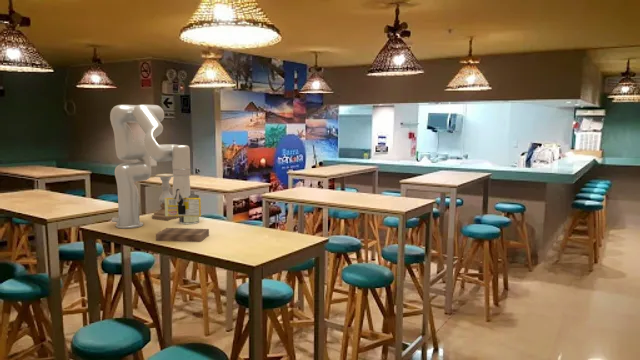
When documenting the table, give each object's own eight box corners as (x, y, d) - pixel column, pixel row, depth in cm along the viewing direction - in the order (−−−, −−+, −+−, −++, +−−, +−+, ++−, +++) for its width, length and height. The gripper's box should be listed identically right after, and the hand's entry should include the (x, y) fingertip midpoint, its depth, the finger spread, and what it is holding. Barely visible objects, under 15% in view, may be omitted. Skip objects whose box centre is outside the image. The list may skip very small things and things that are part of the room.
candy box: (201, 215, 207) (201, 197, 206) (200, 216, 205) (199, 198, 204) (166, 215, 208) (165, 197, 207) (164, 216, 206) (163, 198, 205)
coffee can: (175, 223, 238) (174, 196, 236) (186, 219, 247) (186, 193, 246) (192, 225, 235) (191, 197, 233) (203, 221, 244) (202, 194, 243)
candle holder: (166, 215, 258) (165, 173, 255) (181, 217, 253) (180, 174, 251) (151, 218, 248) (150, 174, 246) (166, 220, 244) (165, 176, 241)
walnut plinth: (155, 240, 202) (155, 233, 202) (166, 234, 214) (166, 227, 214) (200, 241, 201) (200, 235, 201) (208, 235, 213) (208, 229, 213)
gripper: (180, 171, 212) (181, 210, 214) (166, 174, 196) (167, 217, 198) (196, 171, 212) (197, 210, 214) (183, 174, 196) (184, 217, 198)
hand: (183, 213), depth 206 cm, fingers closed on candy box, 2 cm apart
